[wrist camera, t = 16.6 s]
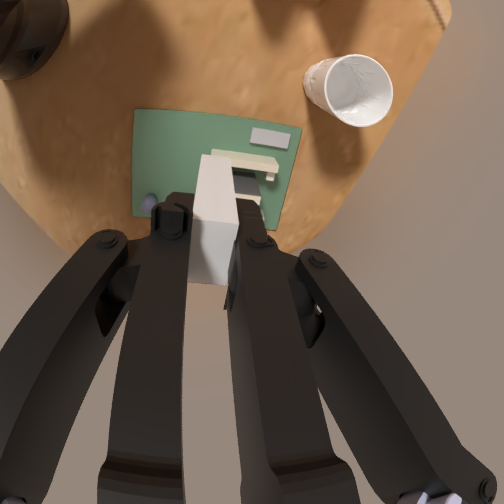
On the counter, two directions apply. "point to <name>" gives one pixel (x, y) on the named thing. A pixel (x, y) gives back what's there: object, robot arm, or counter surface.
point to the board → (202, 142)
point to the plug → (246, 186)
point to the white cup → (350, 89)
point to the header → (251, 163)
